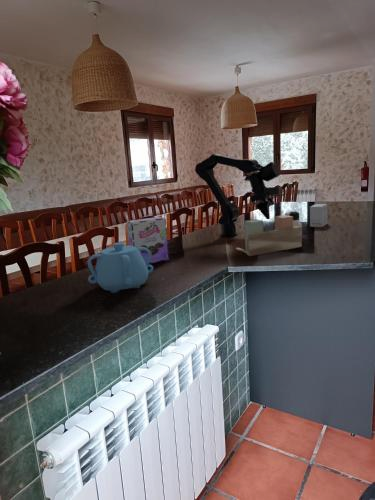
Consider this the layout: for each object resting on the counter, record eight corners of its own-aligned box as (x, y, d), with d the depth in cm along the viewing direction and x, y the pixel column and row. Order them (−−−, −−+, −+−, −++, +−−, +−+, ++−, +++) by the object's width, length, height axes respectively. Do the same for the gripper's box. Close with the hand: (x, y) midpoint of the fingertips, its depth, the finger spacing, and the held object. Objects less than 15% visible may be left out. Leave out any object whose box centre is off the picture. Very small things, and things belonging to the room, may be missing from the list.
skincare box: (315, 223, 187) (315, 203, 185) (327, 223, 184) (328, 203, 181) (309, 226, 179) (309, 206, 177) (322, 227, 175) (322, 206, 173)
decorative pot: (127, 299, 97) (122, 251, 93) (84, 292, 104) (78, 248, 101) (159, 280, 111) (155, 238, 107) (119, 275, 118) (115, 236, 115)
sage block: (245, 250, 139) (244, 220, 136) (256, 248, 140) (255, 219, 137) (252, 253, 134) (251, 222, 131) (263, 251, 136) (263, 220, 133)
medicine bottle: (298, 236, 157) (298, 210, 155) (302, 240, 151) (302, 212, 148) (282, 237, 158) (282, 211, 155) (285, 241, 151) (284, 213, 148)
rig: (233, 249, 142) (233, 230, 140) (282, 241, 151) (282, 223, 149) (250, 256, 131) (249, 235, 129) (301, 246, 140) (301, 226, 138)
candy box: (135, 266, 128) (130, 222, 124) (130, 263, 133) (125, 220, 129) (169, 260, 134) (166, 217, 130) (163, 257, 139) (159, 216, 135)
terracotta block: (275, 245, 143) (274, 216, 141) (285, 243, 145) (285, 215, 142) (282, 247, 139) (282, 217, 136) (293, 246, 141) (293, 216, 138)
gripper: (270, 174, 144) (282, 209, 141) (280, 183, 160) (290, 215, 158) (245, 184, 148) (256, 219, 146) (257, 192, 165) (266, 223, 162)
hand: (268, 219), depth 153 cm, fingers closed
